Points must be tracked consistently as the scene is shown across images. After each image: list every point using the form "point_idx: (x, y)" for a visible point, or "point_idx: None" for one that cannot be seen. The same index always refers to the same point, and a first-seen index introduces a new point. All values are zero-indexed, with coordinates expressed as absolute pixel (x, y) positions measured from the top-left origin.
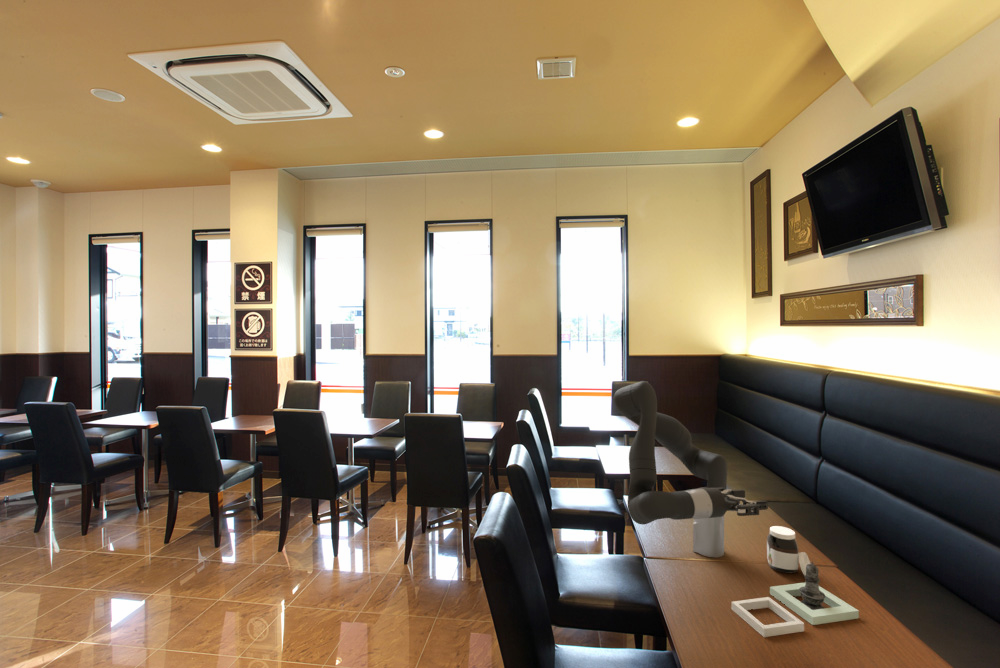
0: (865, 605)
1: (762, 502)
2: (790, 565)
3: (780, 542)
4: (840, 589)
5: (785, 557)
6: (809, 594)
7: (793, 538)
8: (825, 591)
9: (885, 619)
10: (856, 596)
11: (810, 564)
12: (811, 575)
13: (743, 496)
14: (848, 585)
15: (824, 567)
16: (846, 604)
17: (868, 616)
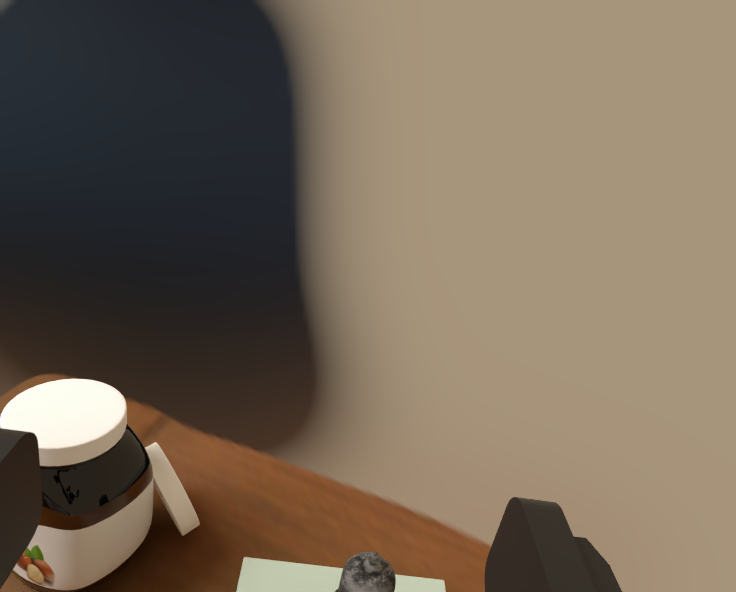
0: (375, 515)
1: (580, 584)
2: (136, 539)
3: (88, 479)
4: (282, 499)
5: (120, 528)
6: None
7: (126, 422)
8: (316, 574)
9: (447, 531)
10: (329, 494)
11: (369, 570)
12: None
13: (26, 524)
14: (274, 462)
15: (167, 431)
16: (404, 583)
17: (429, 560)
